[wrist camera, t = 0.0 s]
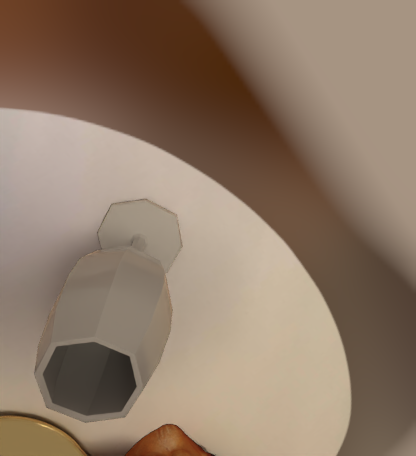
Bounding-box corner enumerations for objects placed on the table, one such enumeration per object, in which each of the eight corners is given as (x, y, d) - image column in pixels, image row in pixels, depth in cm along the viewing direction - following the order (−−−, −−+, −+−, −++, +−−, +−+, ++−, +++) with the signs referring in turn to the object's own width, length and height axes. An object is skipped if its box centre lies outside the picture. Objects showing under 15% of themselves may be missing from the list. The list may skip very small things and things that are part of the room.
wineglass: (94, 268, 42) (5, 432, 22) (102, 189, 39) (7, 299, 19) (176, 280, 43) (158, 450, 23) (189, 205, 40) (183, 325, 20)
